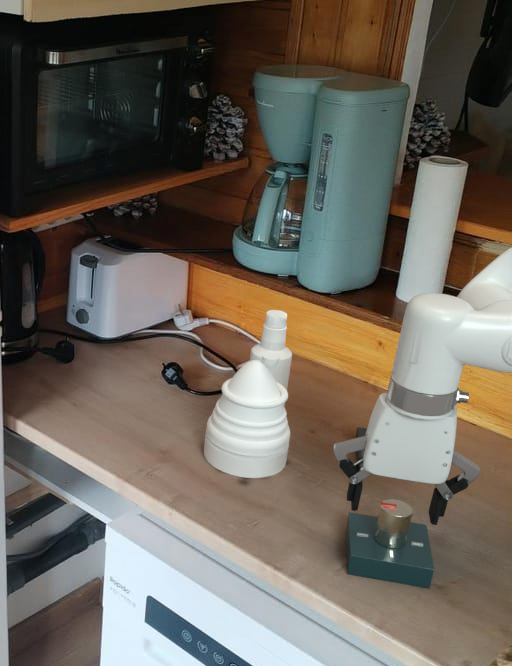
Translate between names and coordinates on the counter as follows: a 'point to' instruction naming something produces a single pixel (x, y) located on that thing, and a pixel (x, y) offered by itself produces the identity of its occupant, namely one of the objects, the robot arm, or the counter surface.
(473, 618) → the counter surface
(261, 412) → the honey pot
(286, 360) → the spray bottle
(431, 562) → the dial panel
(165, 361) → the counter surface
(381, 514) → the dial
